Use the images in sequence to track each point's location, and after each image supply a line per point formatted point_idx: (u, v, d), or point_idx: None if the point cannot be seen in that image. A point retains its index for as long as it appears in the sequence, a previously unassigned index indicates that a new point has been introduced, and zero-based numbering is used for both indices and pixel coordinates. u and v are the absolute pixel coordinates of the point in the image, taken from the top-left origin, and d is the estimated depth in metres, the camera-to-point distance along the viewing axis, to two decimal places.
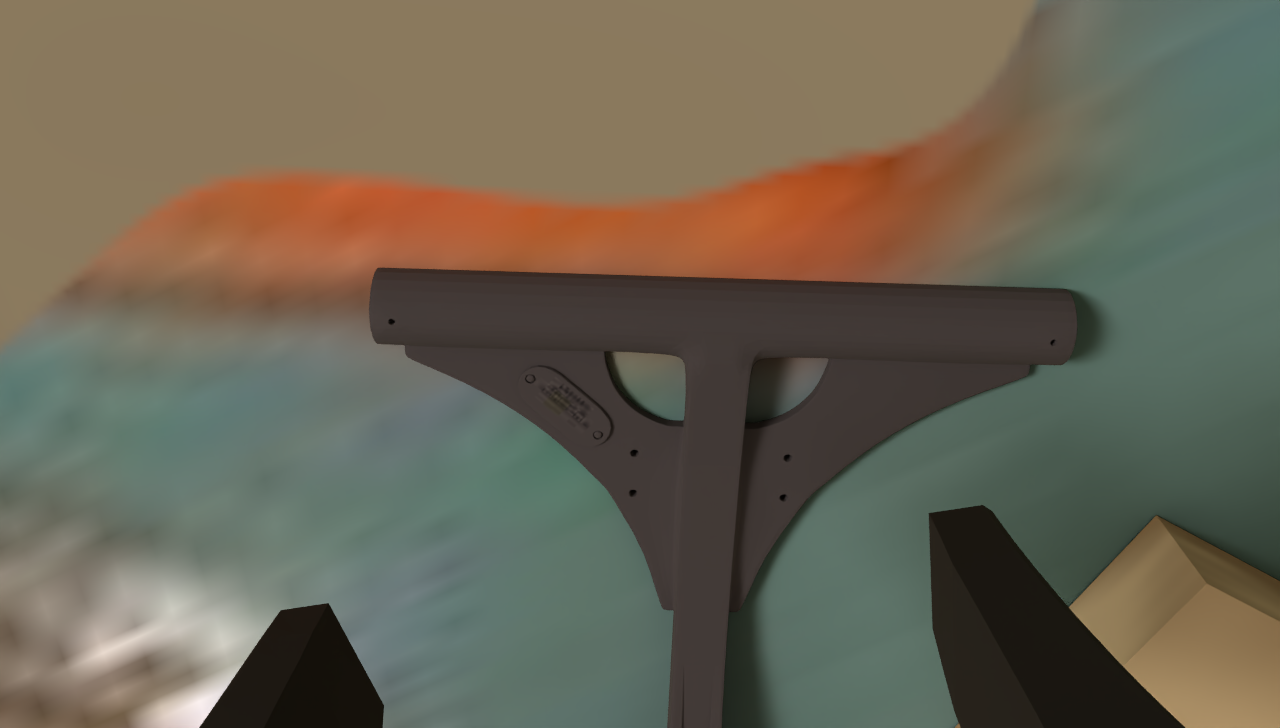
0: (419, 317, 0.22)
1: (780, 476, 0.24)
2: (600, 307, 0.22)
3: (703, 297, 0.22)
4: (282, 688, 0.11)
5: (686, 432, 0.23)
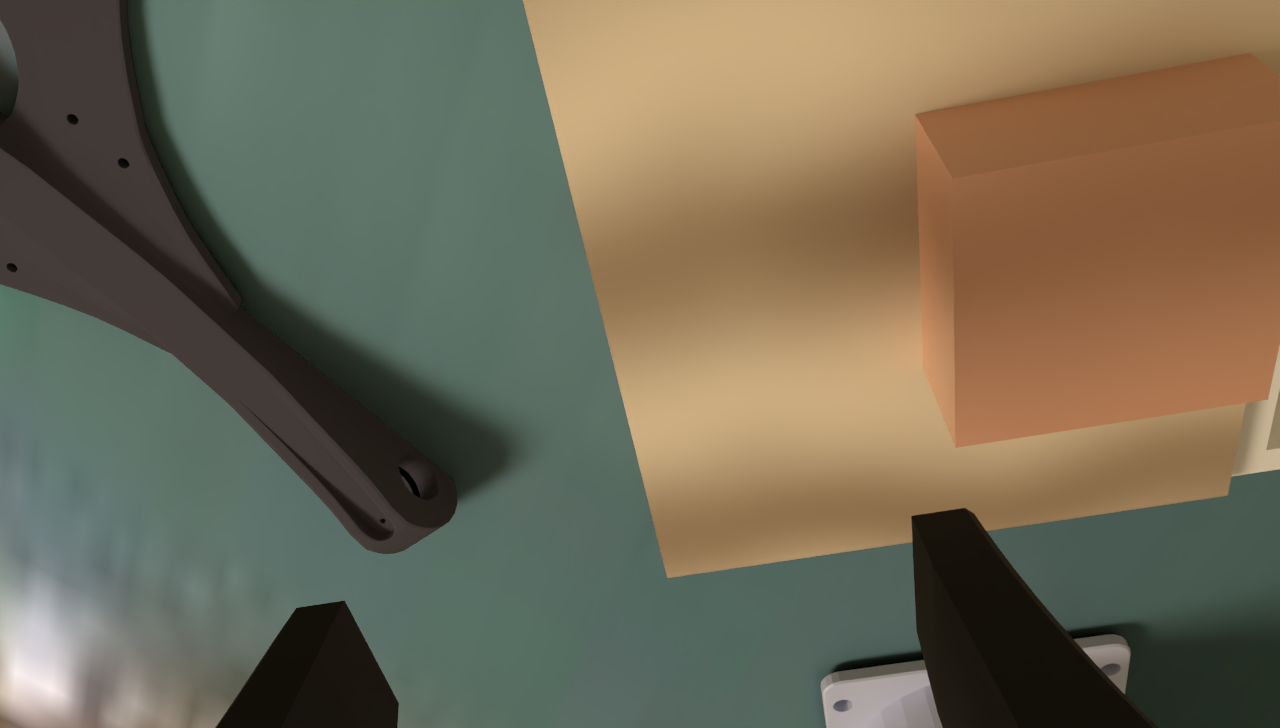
0: None
1: (90, 143, 0.19)
2: None
3: None
4: (299, 685, 0.11)
5: None
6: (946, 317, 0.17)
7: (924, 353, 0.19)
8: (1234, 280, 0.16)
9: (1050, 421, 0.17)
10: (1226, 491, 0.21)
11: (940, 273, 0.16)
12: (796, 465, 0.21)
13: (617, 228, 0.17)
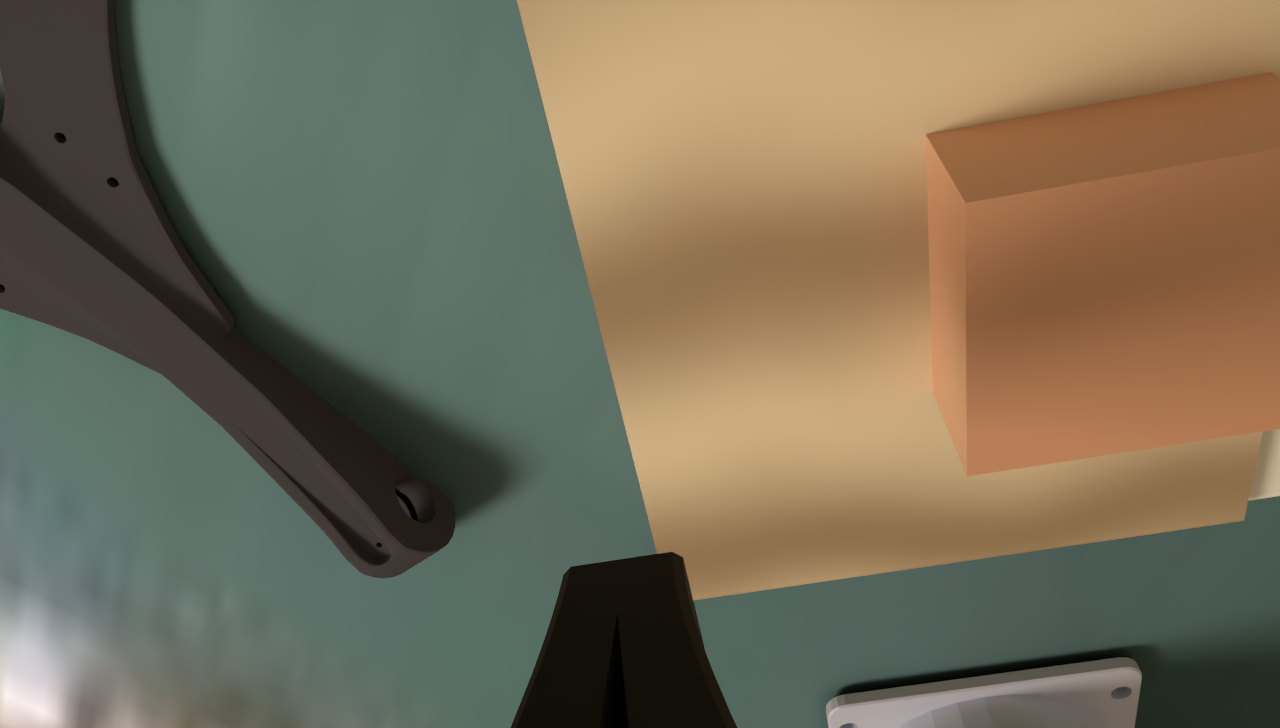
0: None
1: (79, 162, 0.18)
2: None
3: None
4: (610, 641, 0.11)
5: None
6: (958, 343, 0.16)
7: (934, 377, 0.18)
8: (1256, 306, 0.15)
9: (1065, 449, 0.17)
10: (1243, 516, 0.21)
11: (951, 298, 0.16)
12: (802, 490, 0.20)
13: (618, 250, 0.17)
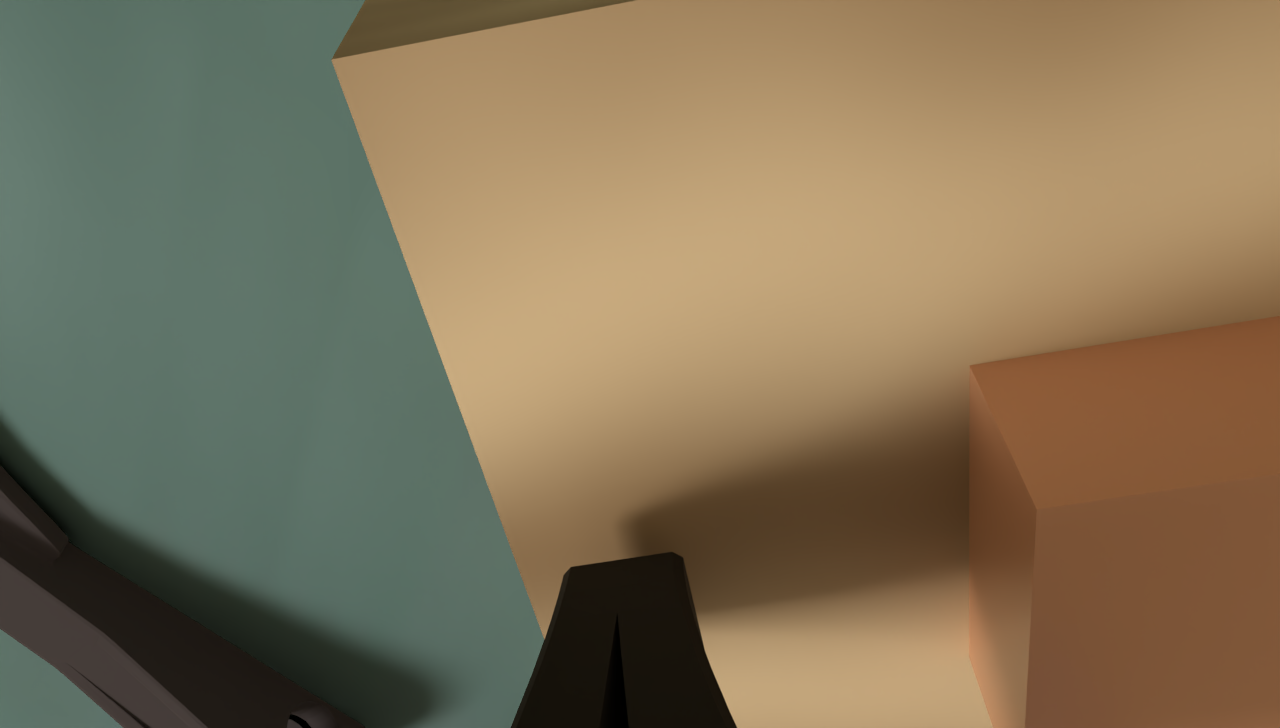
0: None
1: None
2: None
3: None
4: (611, 641, 0.11)
5: None
6: (1013, 653, 0.12)
7: (972, 645, 0.14)
8: None
9: None
10: None
11: (1005, 592, 0.11)
12: None
13: (547, 503, 0.12)
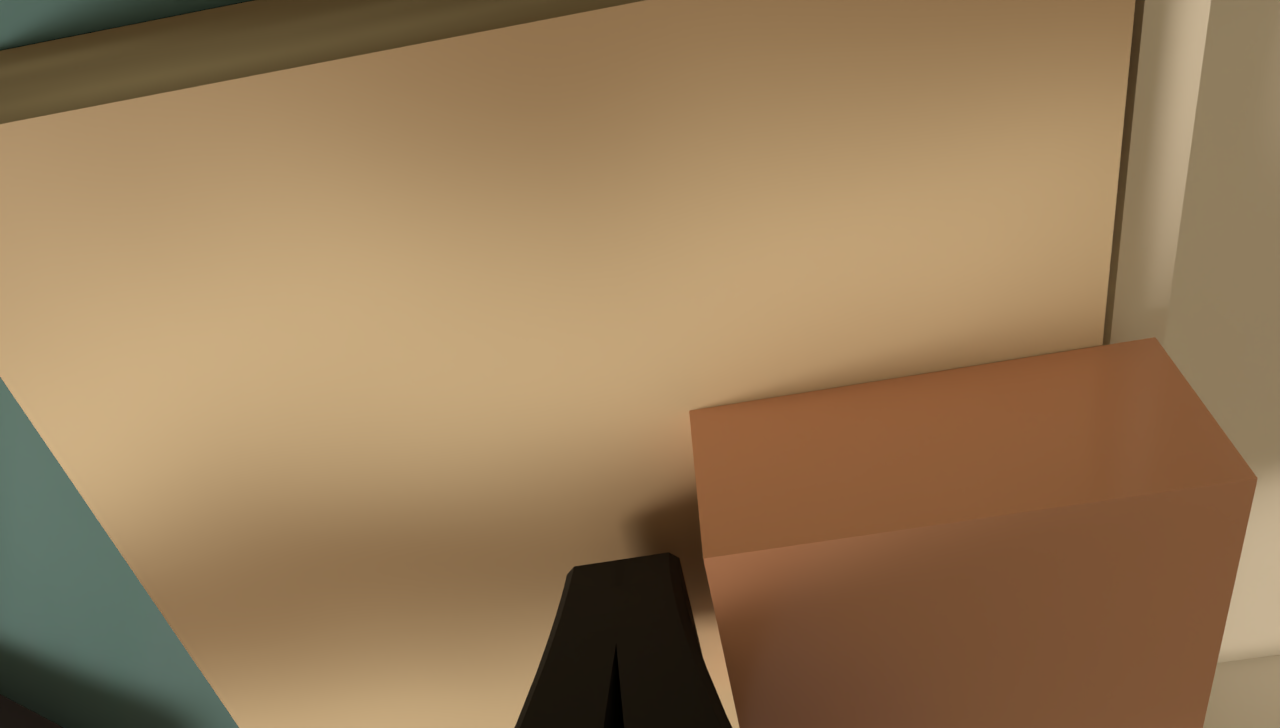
0: None
1: None
2: None
3: None
4: (614, 641, 0.11)
5: None
6: None
7: None
8: (1131, 667, 0.11)
9: None
10: None
11: None
12: None
13: (176, 560, 0.13)
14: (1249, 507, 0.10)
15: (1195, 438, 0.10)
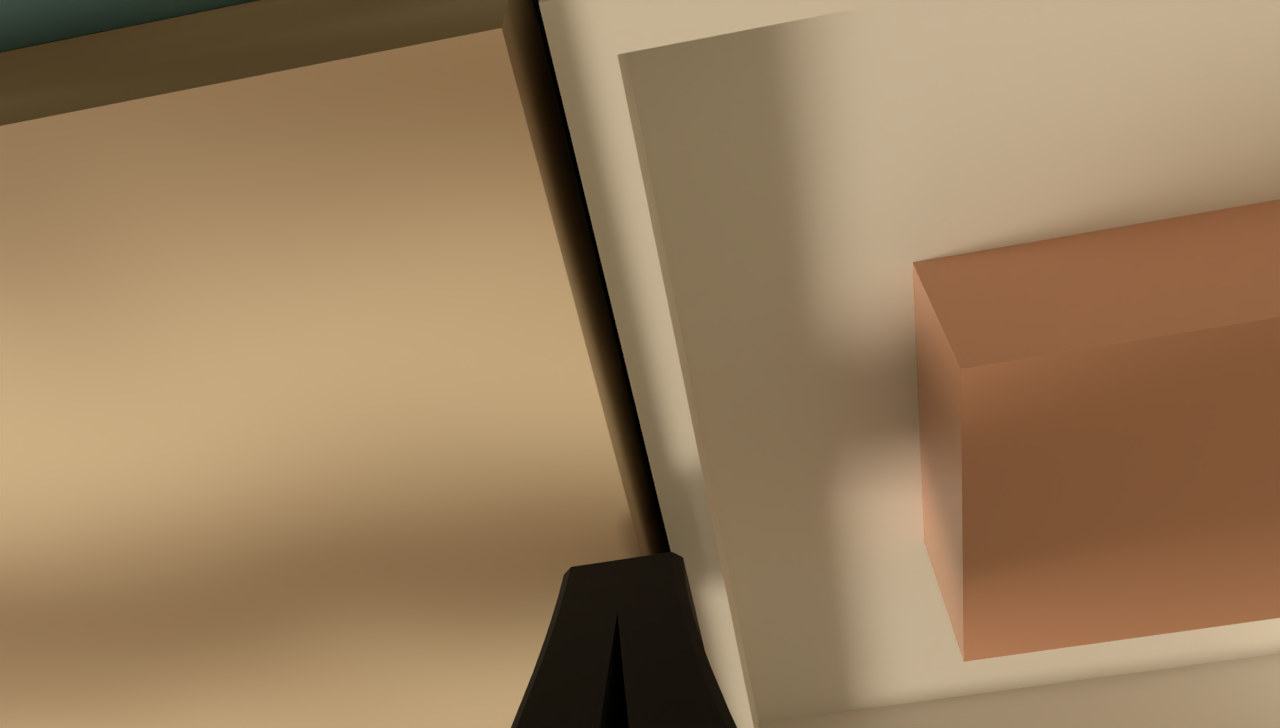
0: None
1: None
2: None
3: None
4: (610, 642, 0.11)
5: None
6: None
7: None
8: None
9: None
10: None
11: None
12: None
13: None
14: None
15: (948, 284, 0.13)
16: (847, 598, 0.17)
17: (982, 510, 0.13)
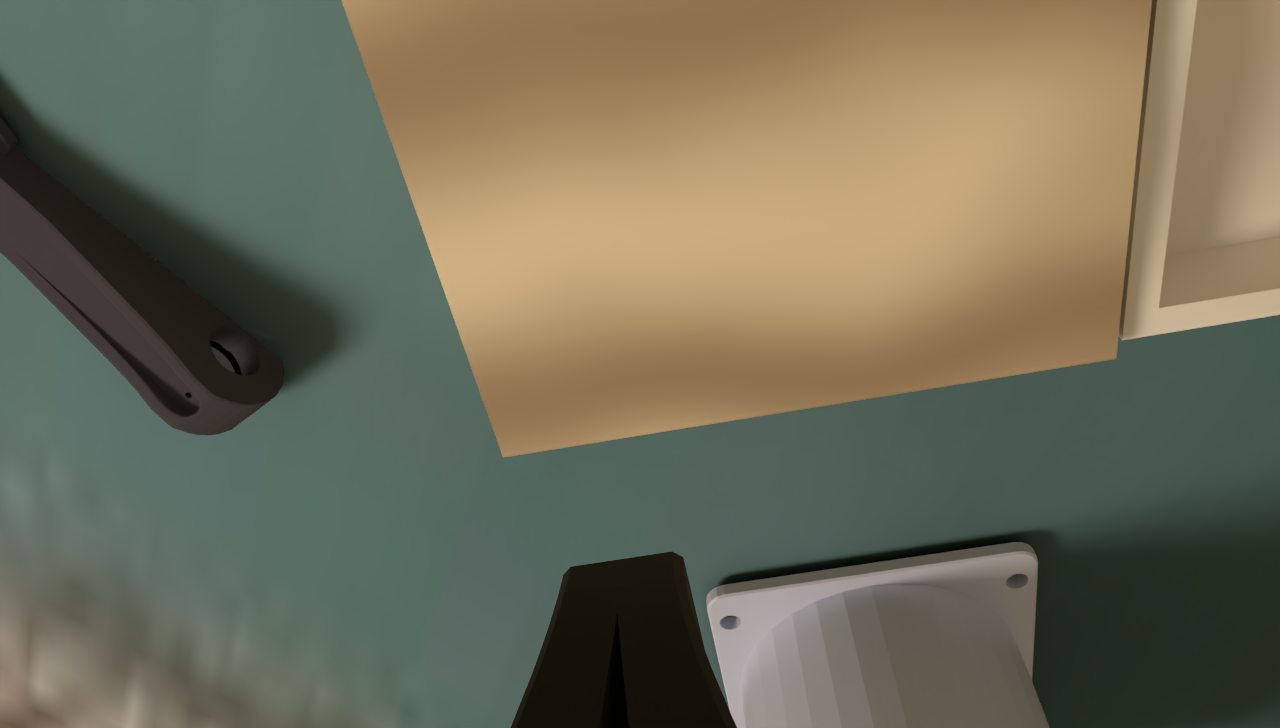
0: None
1: None
2: None
3: None
4: (610, 642, 0.11)
5: None
6: None
7: None
8: None
9: None
10: (1115, 354, 0.19)
11: None
12: (630, 319, 0.19)
13: (391, 20, 0.15)
14: None
15: None
16: (1239, 104, 0.19)
17: None
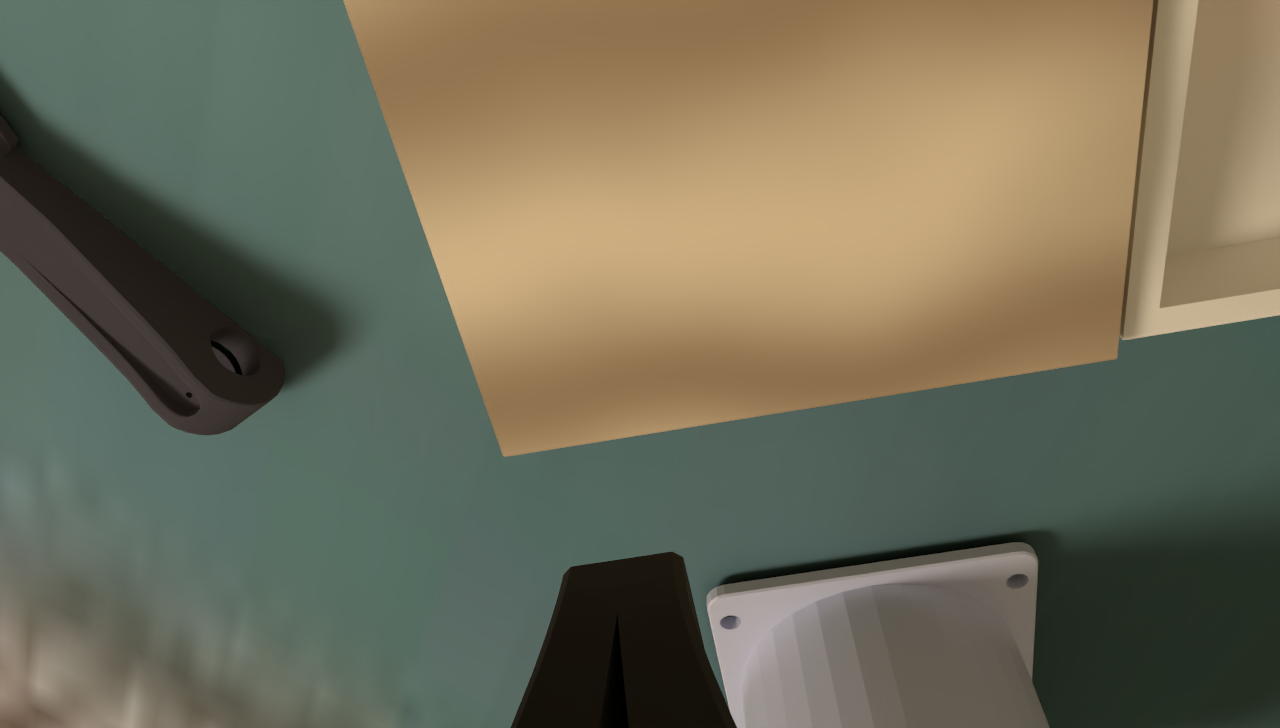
0: None
1: None
2: None
3: None
4: (610, 642, 0.11)
5: None
6: None
7: None
8: None
9: None
10: (1116, 354, 0.19)
11: None
12: (631, 319, 0.19)
13: (392, 19, 0.15)
14: None
15: None
16: (1240, 105, 0.19)
17: None
